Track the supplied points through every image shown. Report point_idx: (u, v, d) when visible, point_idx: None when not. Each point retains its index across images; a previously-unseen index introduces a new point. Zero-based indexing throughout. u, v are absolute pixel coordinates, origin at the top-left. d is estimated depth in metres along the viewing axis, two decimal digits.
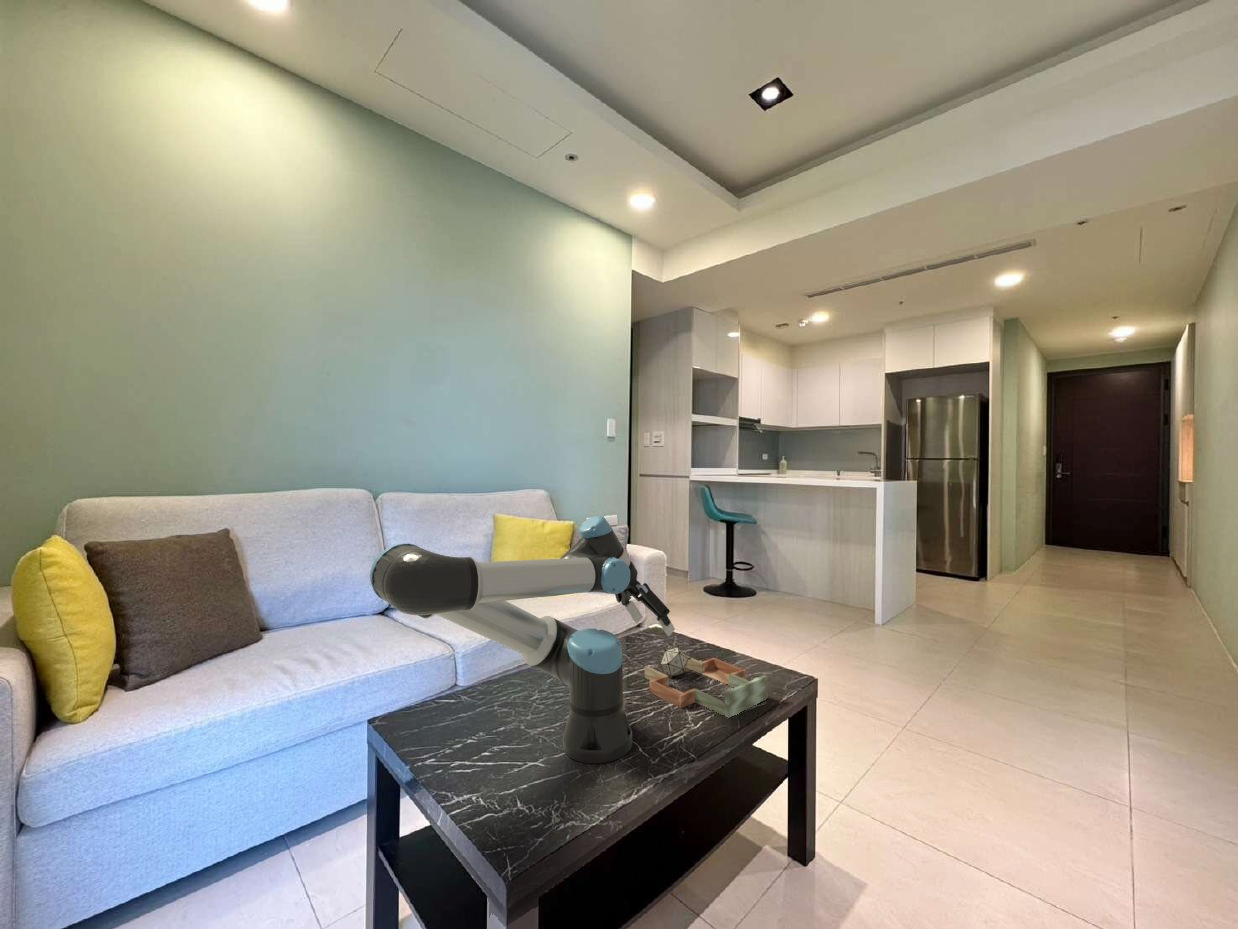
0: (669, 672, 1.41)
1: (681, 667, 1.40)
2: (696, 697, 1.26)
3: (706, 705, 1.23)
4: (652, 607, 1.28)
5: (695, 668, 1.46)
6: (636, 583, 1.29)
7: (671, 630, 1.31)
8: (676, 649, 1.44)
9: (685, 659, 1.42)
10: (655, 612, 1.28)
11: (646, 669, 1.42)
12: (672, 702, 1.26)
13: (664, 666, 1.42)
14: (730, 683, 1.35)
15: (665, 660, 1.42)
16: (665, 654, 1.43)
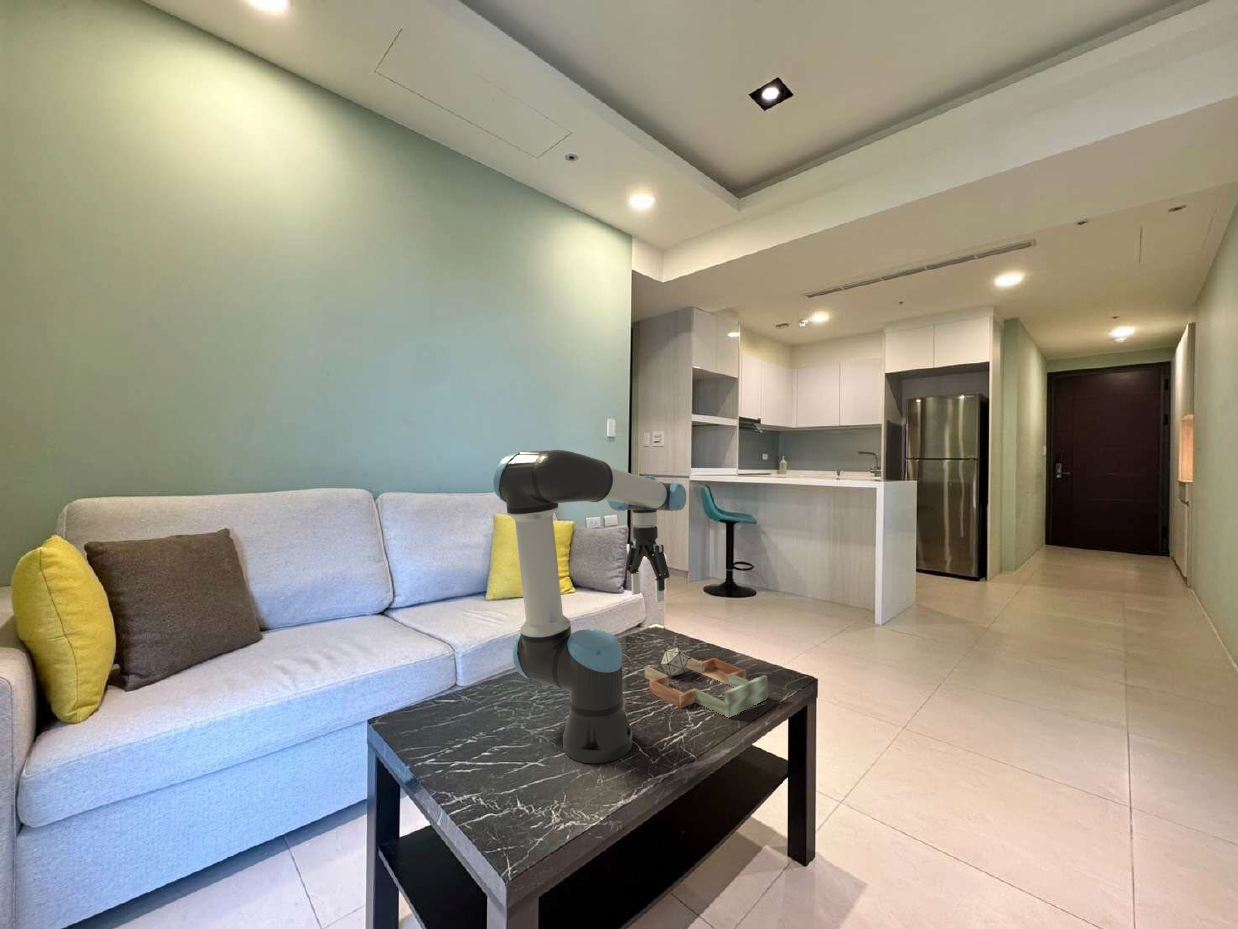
0: (669, 672, 1.41)
1: (681, 667, 1.40)
2: (696, 697, 1.26)
3: (706, 705, 1.23)
4: (656, 568, 1.48)
5: (695, 668, 1.46)
6: (654, 542, 1.50)
7: (661, 599, 1.48)
8: (676, 649, 1.44)
9: (685, 659, 1.42)
10: (657, 573, 1.47)
11: (646, 669, 1.42)
12: (672, 702, 1.26)
13: (664, 666, 1.42)
14: (730, 683, 1.35)
15: (665, 660, 1.42)
16: (665, 654, 1.43)
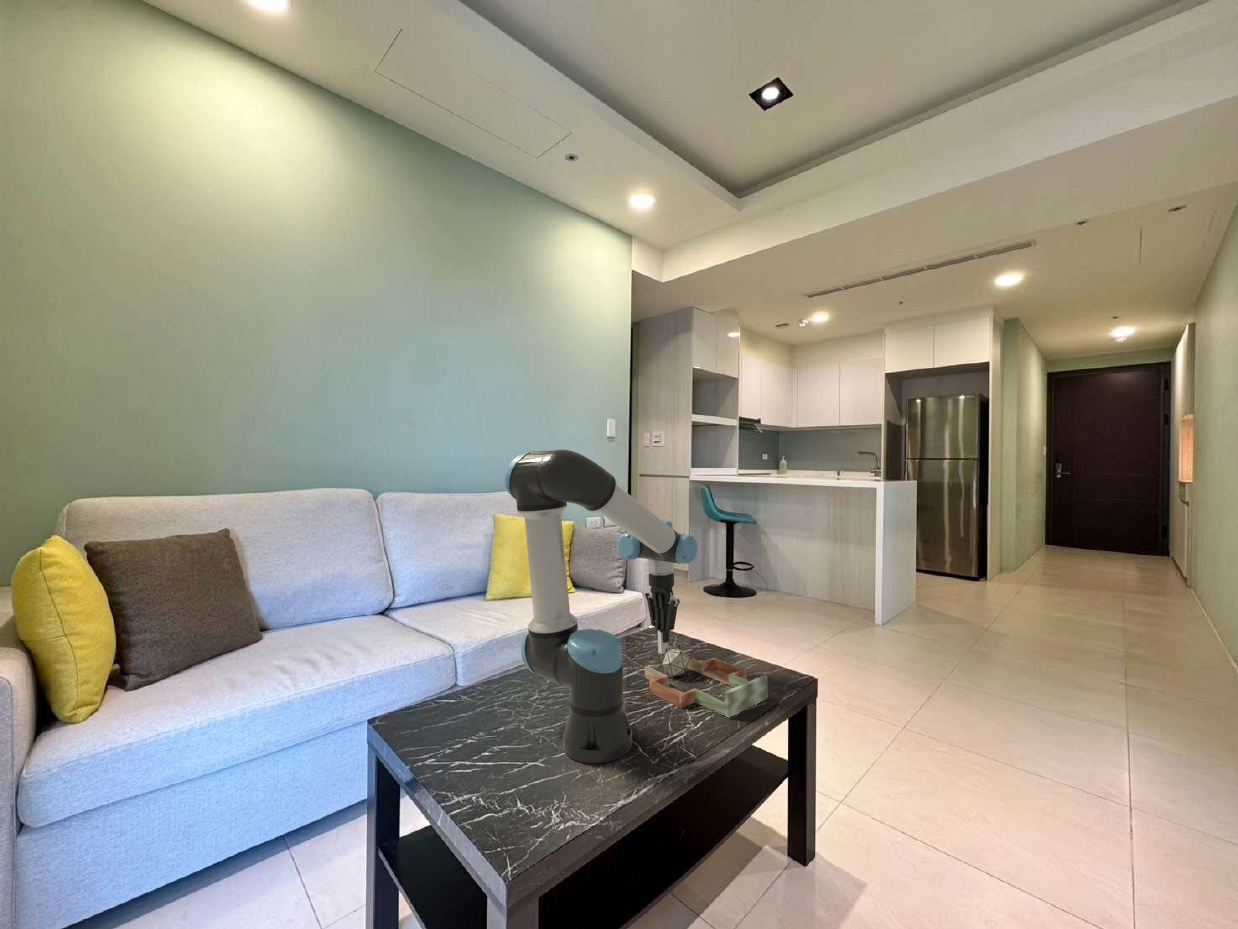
0: (670, 672, 1.41)
1: (682, 667, 1.40)
2: (696, 697, 1.26)
3: (706, 705, 1.23)
4: (664, 620, 1.45)
5: (695, 668, 1.46)
6: (670, 590, 1.44)
7: (665, 650, 1.47)
8: (677, 649, 1.44)
9: (686, 659, 1.42)
10: (663, 625, 1.45)
11: (646, 669, 1.42)
12: (672, 702, 1.26)
13: (665, 666, 1.42)
14: (730, 683, 1.35)
15: (667, 660, 1.41)
16: (666, 654, 1.42)
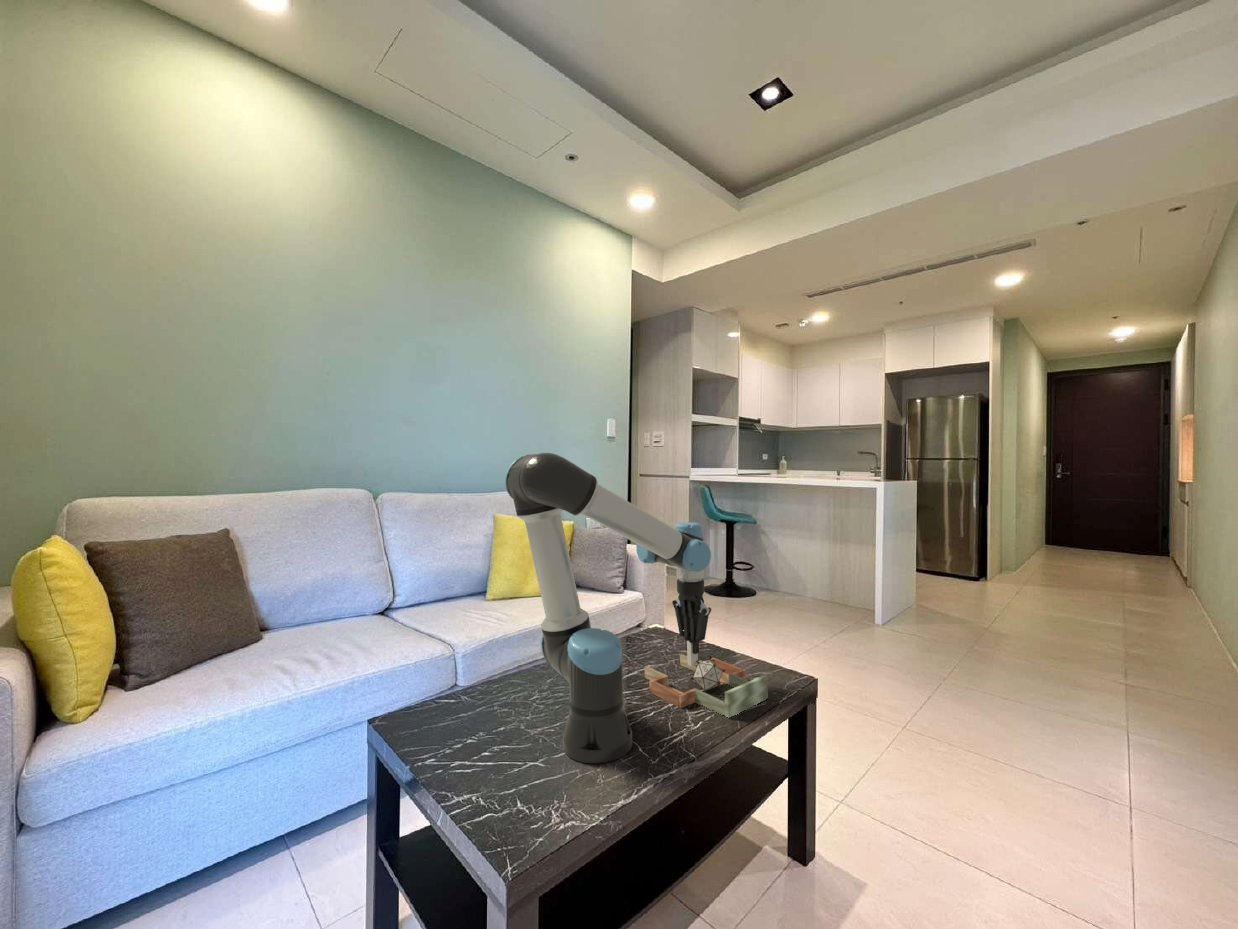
0: (703, 686, 1.31)
1: (716, 681, 1.30)
2: (696, 697, 1.26)
3: (706, 705, 1.23)
4: (694, 630, 1.36)
5: (695, 668, 1.46)
6: (701, 598, 1.35)
7: (695, 662, 1.37)
8: (709, 661, 1.34)
9: (720, 672, 1.33)
10: (693, 635, 1.35)
11: (646, 669, 1.42)
12: (672, 702, 1.26)
13: (697, 680, 1.32)
14: (730, 683, 1.35)
15: (699, 673, 1.32)
16: (698, 667, 1.33)
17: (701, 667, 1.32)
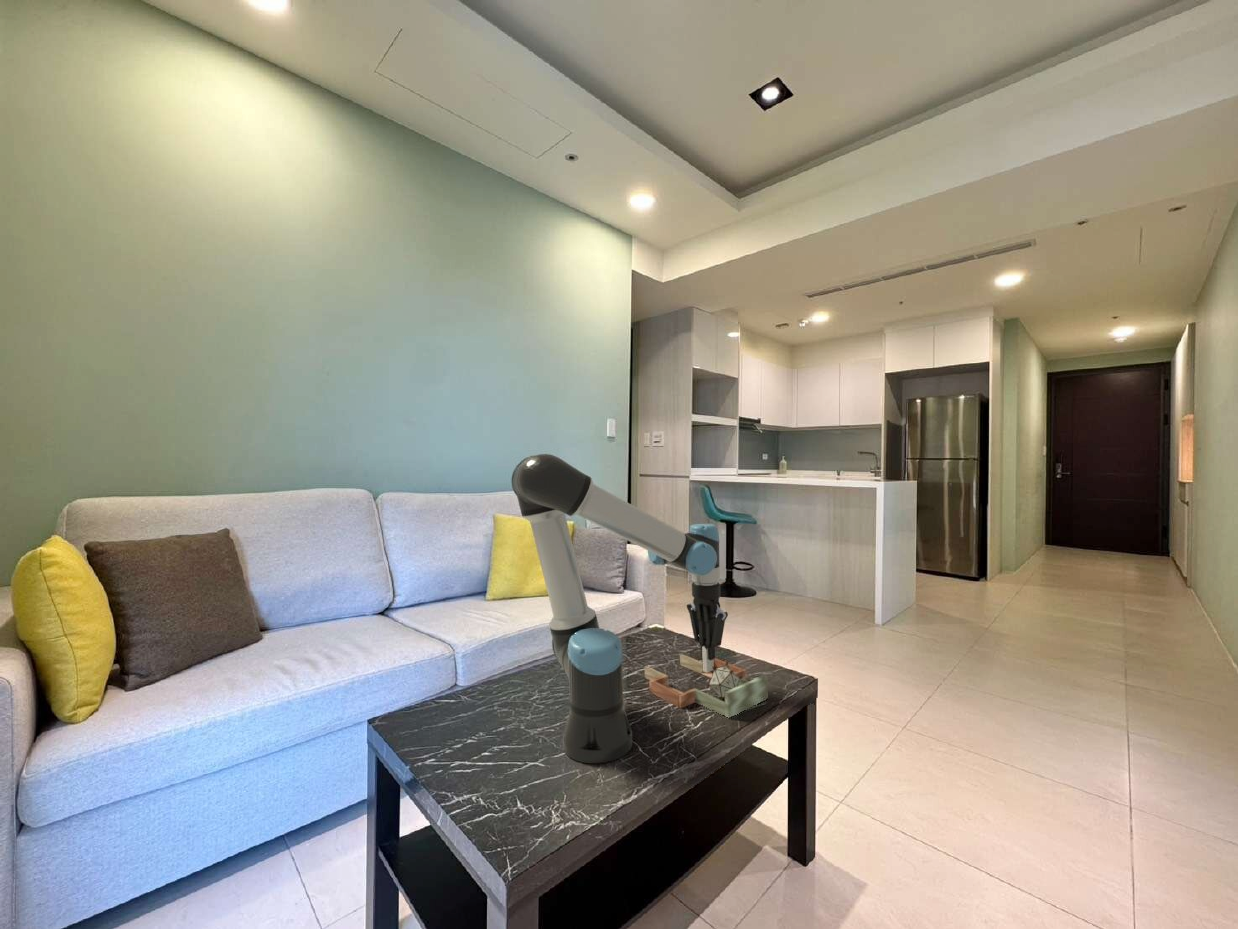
0: (720, 694, 1.27)
1: None
2: (696, 697, 1.26)
3: (706, 705, 1.23)
4: (710, 635, 1.31)
5: (695, 668, 1.46)
6: (717, 602, 1.30)
7: (710, 668, 1.32)
8: (726, 667, 1.30)
9: (737, 679, 1.28)
10: (709, 641, 1.31)
11: (646, 669, 1.42)
12: (672, 702, 1.26)
13: (714, 687, 1.28)
14: None
15: (715, 680, 1.27)
16: (714, 673, 1.28)
17: (717, 674, 1.28)
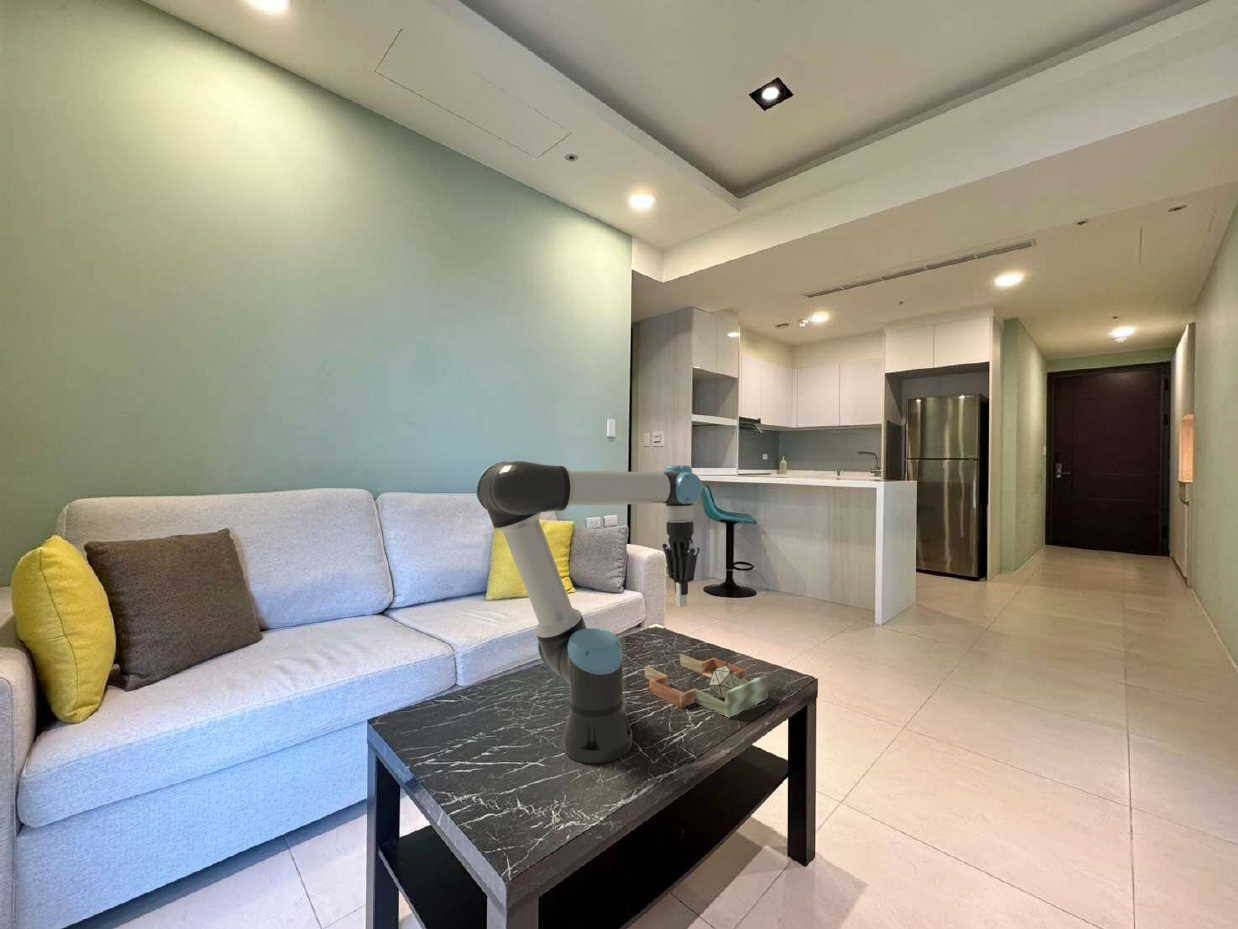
0: (720, 694, 1.27)
1: None
2: (696, 697, 1.26)
3: (706, 705, 1.23)
4: (683, 571, 1.36)
5: (695, 668, 1.46)
6: (690, 538, 1.35)
7: (683, 603, 1.37)
8: (726, 668, 1.30)
9: (736, 679, 1.28)
10: (682, 576, 1.36)
11: (646, 669, 1.42)
12: (672, 702, 1.26)
13: (713, 687, 1.27)
14: None
15: (715, 681, 1.27)
16: (714, 674, 1.28)
17: (717, 674, 1.28)
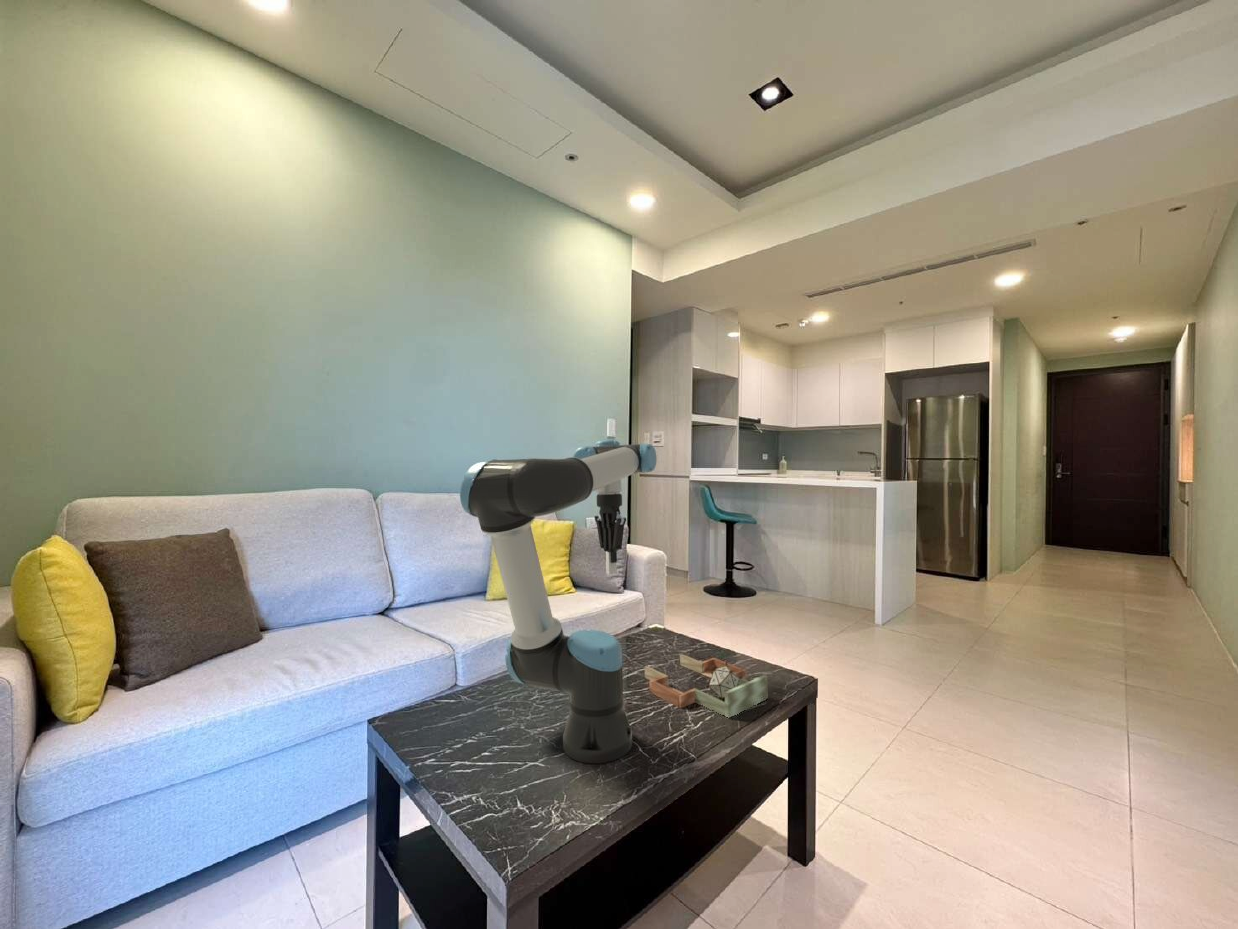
0: (720, 694, 1.27)
1: None
2: (696, 697, 1.26)
3: (706, 705, 1.23)
4: (612, 540, 1.44)
5: (695, 668, 1.46)
6: (617, 509, 1.44)
7: (613, 571, 1.46)
8: (725, 668, 1.30)
9: (736, 679, 1.28)
10: (611, 545, 1.44)
11: (646, 669, 1.42)
12: (672, 702, 1.26)
13: (713, 687, 1.28)
14: None
15: (715, 681, 1.27)
16: (714, 674, 1.28)
17: (717, 674, 1.28)
